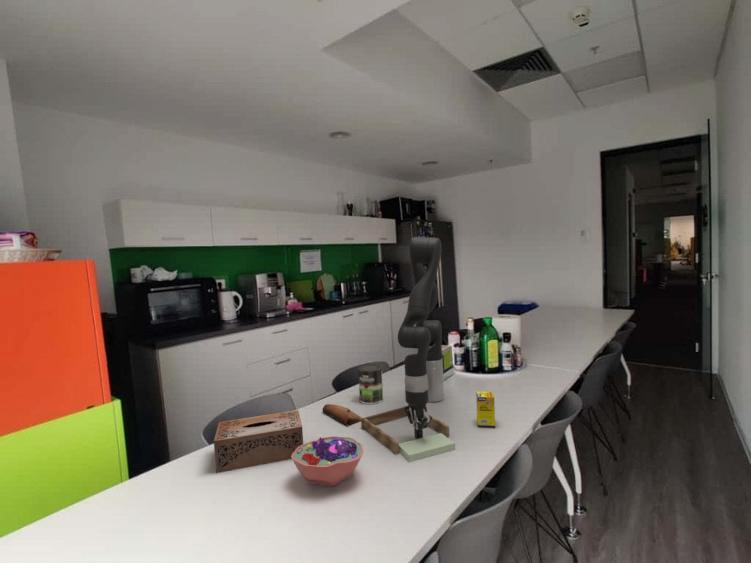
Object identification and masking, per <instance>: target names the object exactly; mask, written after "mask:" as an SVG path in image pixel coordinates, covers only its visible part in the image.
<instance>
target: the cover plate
mask: <svg viewBox="0 0 751 563" xmlns="http://www.w3.org/2000/svg"><path fill="white" fill-rule="evenodd" d="M398 446H399V454H401V455H402V456H403V457H404V458H405V459H406V460H407V462H409V463H411V462H414V461H418V460H422V459H426V458H429V457H433V456H436V455H439V454H444V453H448V452H450V451H454V450H456V442H454V441H453V440H451V439H450V438H449V437H446V436H445V435H443V434H442V433H439V432H438V433H436V434H431V435H428V436H423V438H419V439H415V438H414V439H412V440H407V441H405V442H401V443H398Z"/></svg>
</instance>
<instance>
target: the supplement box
mask: <svg viewBox="0 0 751 563" xmlns="http://www.w3.org/2000/svg"><path fill="white" fill-rule="evenodd" d="M475 396H476V397H475V398H476V401H475V402H476V422H477V428H491V429H492V428H496V416H495V415H496V412H495V411H496V410H495V408H496V407H495V394H494V391H484V390H483V391H482V390H481V391H480V390H479V391H478V390H476V392H475Z"/></svg>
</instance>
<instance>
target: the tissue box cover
mask: <svg viewBox="0 0 751 563" xmlns="http://www.w3.org/2000/svg"><path fill="white" fill-rule="evenodd" d="M301 420H302V419H301V417H300V411H299V409H296V410H288V411H282V412H276V413H270V414H262V415H256V416H249V417H242V418H238V419H230V420H229V419H228V420H224V421H218V425H217V428H216V433H215V436H214V439H213V446H214V459H215V472H216V474H219V473H220V474H221V473H224V472H230V471H236V470H240V469H247V468H251V467H257V466H262V465H267V464H273V463H279V462H284V461H289V460H293V459H292V457H291V456H292V453H293V452H294V451H295V450H296V449H297V448H298V447H299V446H301V445H303V444H304V435H303V434H304V433H303V424H302V421H301Z"/></svg>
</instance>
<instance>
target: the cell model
mask: <svg viewBox="0 0 751 563" xmlns="http://www.w3.org/2000/svg"><path fill="white" fill-rule="evenodd" d="M363 455H364V448H363V445H362V443H360V442H358V441H357V440H356V439H354V438H351V437H349V436H348V437H346V436H344V437H343V436H327V437H319V438H317V439H313V440H311V441H309V442H306V443H303V445H301V446H299V447H298V448H297V449H296V450H295V451H294V452H293V453H292V456H291V457H292V459H291V460H292V461H293V464H294V466H295V467H296V469H297V471H298V472H299V474H300V475H301V476H302V478H303V479H304V481H305V482H307V484H311V485H315V486H316V485H320V486H326V487H327V486H329V487H334V486H336V485H338V484H339V483H341V482H343V481H346V480H348V479H349V478H350V477H351V476H352V475H353V473H354V472H355V470H356V469H357V467H358V465H359V463H360V461H361V459H362V457H363Z"/></svg>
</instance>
